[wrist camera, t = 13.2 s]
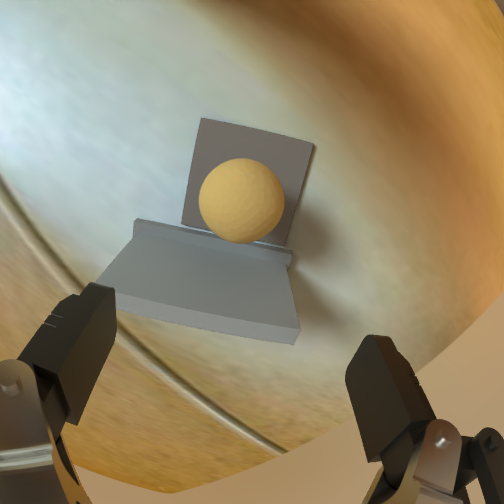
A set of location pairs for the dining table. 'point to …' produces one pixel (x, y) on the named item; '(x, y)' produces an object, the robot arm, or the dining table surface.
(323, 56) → the dining table surface
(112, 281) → the screen
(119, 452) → the dining table surface
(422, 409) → the robot arm
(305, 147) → the mat
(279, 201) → the yellow light bulb
